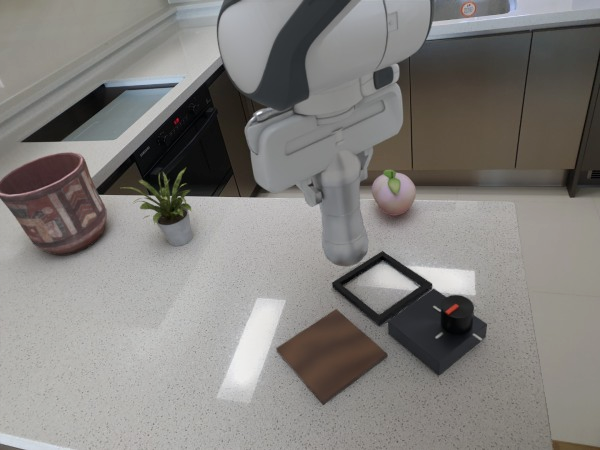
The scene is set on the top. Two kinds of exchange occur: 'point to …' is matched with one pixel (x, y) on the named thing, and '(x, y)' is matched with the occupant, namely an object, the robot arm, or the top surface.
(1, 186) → the pottery
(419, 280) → the black flat square frame
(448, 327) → the knob
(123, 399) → the top surface
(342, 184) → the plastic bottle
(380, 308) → the top surface
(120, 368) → the top surface
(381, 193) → the decorative fruit
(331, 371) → the trivet
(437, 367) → the panel
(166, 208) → the house plant
